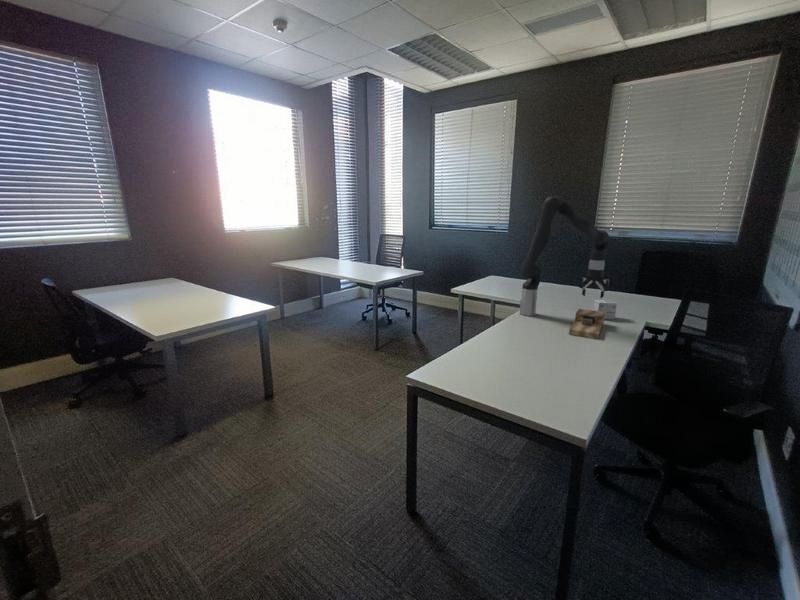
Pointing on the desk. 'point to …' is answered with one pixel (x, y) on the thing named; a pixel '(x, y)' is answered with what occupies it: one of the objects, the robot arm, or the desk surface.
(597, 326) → the wooden box
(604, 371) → the desk surface
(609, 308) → the light bulb box
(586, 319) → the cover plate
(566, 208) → the robot arm
